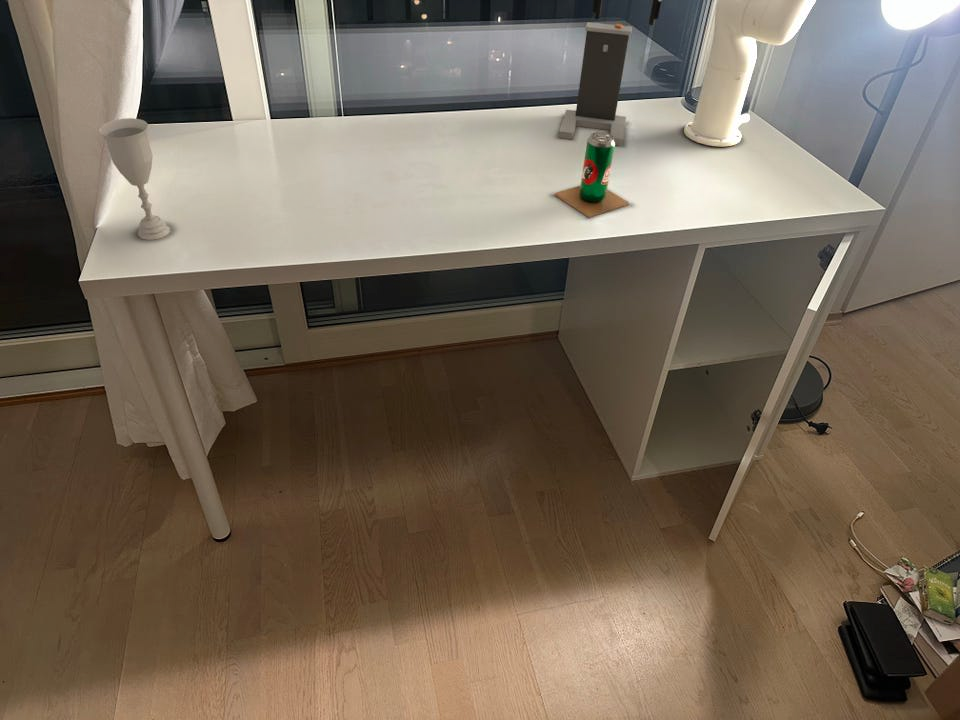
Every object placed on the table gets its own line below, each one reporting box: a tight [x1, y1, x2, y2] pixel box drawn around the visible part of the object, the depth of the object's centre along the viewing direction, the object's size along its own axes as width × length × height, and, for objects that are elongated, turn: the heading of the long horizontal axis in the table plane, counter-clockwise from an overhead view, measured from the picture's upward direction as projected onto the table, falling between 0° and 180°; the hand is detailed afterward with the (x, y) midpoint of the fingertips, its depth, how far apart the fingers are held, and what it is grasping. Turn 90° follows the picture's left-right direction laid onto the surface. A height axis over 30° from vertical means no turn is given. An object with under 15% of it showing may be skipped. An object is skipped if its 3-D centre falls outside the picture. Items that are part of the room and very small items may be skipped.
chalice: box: [98, 117, 171, 241], centre depth 112 cm, size 7×7×18 cm
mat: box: [554, 185, 630, 218], centre depth 134 cm, size 10×10×1 cm
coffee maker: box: [558, 21, 633, 147], centre depth 153 cm, size 14×14×21 cm
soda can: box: [579, 131, 616, 203], centre depth 130 cm, size 5×5×12 cm
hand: (624, 20), depth 127 cm, fingers open, 9 cm apart
